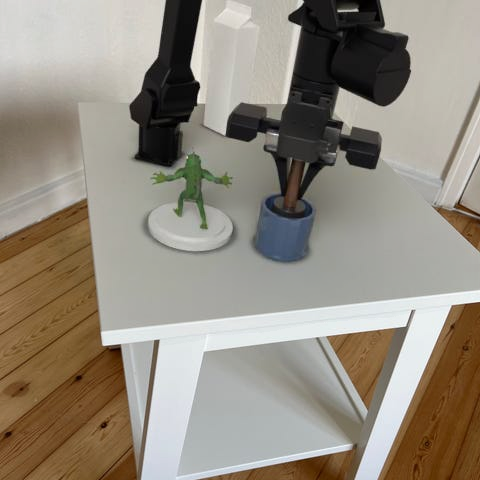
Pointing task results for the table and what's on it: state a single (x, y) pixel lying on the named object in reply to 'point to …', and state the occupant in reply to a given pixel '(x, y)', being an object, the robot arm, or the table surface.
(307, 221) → the blue plastic cup
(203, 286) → the table surface
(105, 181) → the table surface
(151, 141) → the robot arm
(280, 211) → the wooden peg on base
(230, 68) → the milk
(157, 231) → the green frog figurine
